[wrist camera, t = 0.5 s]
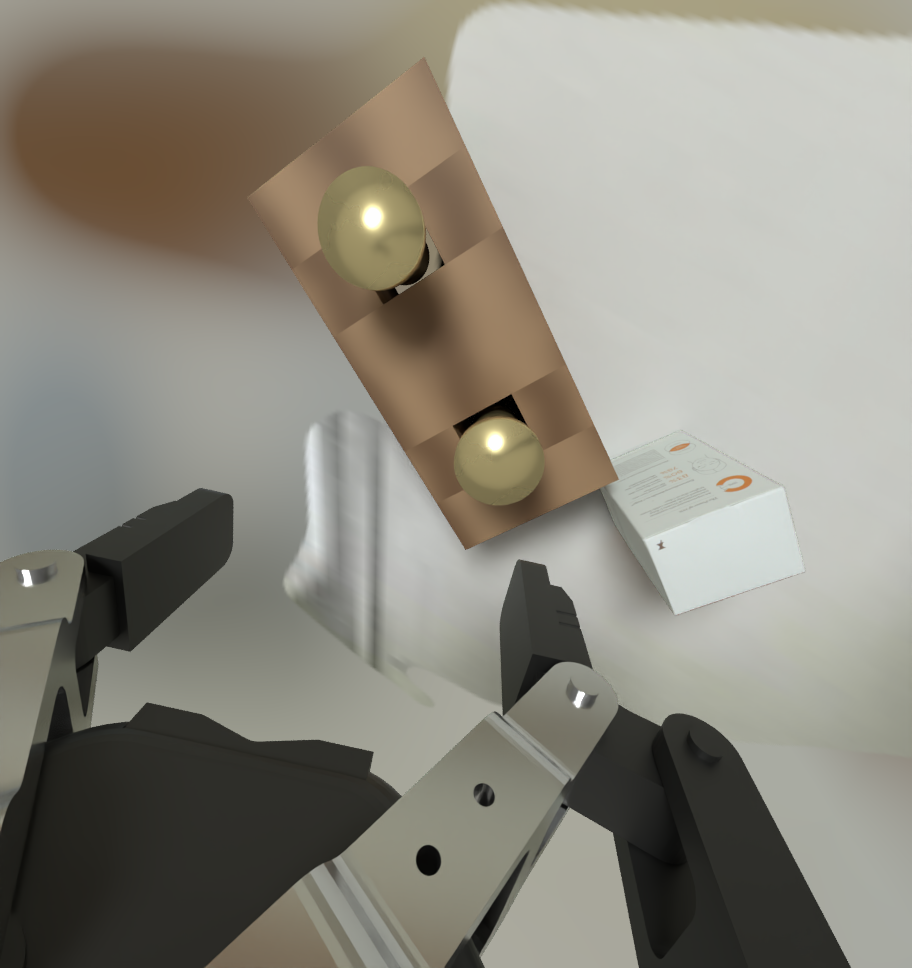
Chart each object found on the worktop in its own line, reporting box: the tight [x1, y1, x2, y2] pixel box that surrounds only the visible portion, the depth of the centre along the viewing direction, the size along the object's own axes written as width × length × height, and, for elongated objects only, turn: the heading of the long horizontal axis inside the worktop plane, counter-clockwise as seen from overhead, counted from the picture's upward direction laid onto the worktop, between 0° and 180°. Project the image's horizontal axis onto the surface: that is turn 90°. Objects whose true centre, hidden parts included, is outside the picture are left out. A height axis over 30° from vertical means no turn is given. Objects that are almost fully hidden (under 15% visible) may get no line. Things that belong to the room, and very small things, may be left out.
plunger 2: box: [454, 405, 545, 505], centre depth 27 cm, size 5×5×8 cm
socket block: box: [247, 58, 619, 550], centre depth 30 cm, size 12×26×8 cm, turn 29°
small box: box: [600, 430, 805, 615], centre depth 31 cm, size 8×6×13 cm
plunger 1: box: [317, 166, 429, 291], centre depth 24 cm, size 5×5×8 cm
